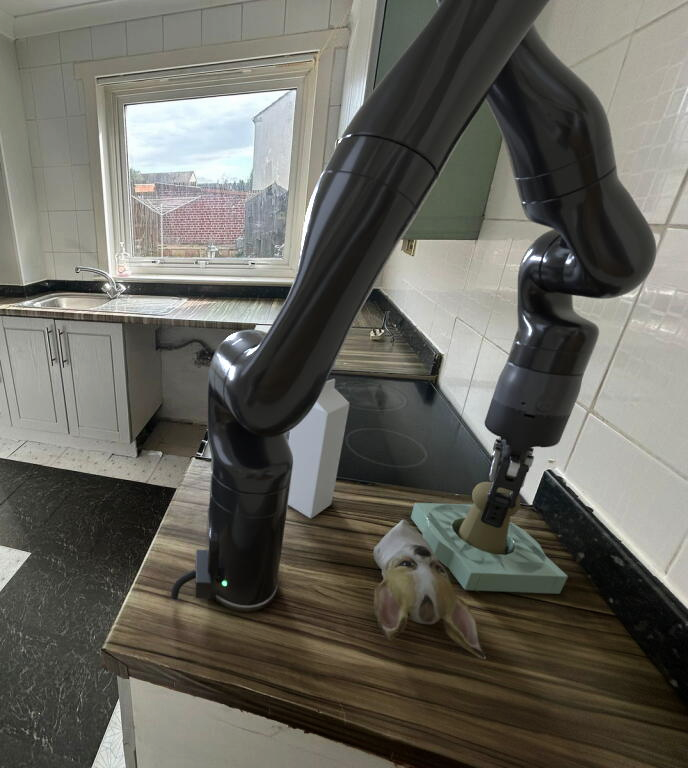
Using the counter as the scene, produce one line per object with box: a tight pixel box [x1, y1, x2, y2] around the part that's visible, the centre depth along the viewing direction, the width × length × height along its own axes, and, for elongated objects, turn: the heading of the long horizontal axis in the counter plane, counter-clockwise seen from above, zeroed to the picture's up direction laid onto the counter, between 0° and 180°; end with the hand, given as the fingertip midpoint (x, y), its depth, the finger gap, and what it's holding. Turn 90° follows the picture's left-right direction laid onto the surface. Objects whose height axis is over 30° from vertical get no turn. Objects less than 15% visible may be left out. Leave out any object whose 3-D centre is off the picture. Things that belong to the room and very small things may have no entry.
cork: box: [457, 481, 521, 555], centre depth 56 cm, size 6×6×11 cm
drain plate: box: [410, 502, 569, 595], centre depth 58 cm, size 14×14×3 cm
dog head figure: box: [373, 519, 487, 660], centre depth 49 cm, size 11×9×15 cm
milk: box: [288, 378, 350, 520], centre depth 64 cm, size 6×6×22 cm
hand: (492, 507), depth 56 cm, fingers open, 8 cm apart
